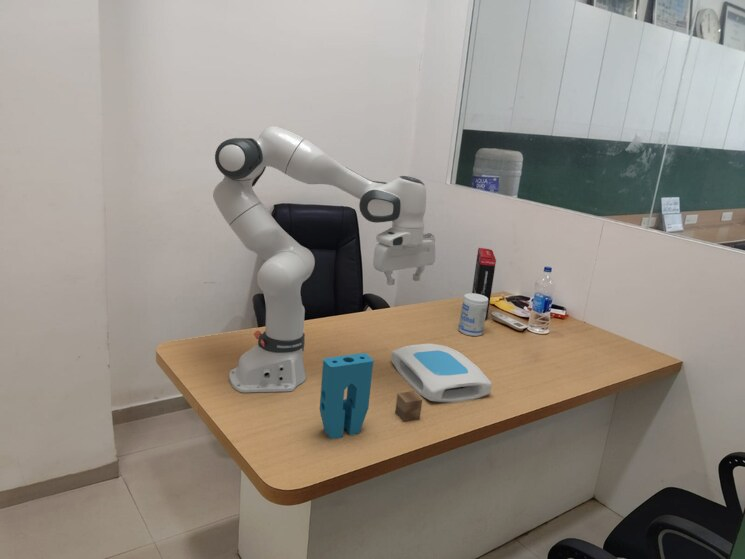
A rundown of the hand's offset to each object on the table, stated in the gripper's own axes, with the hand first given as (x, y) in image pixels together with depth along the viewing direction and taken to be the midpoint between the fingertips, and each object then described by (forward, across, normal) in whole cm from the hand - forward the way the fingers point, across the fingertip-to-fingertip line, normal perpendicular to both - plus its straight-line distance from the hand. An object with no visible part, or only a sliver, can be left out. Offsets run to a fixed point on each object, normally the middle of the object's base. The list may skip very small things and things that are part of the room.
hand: (403, 282), depth 156 cm
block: (+32, +28, +14) cm, 45 cm away
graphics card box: (+35, -74, -36) cm, 89 cm away
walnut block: (+33, +8, +16) cm, 37 cm away
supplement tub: (+34, -54, -22) cm, 68 cm away
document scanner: (+34, -15, +3) cm, 37 cm away
